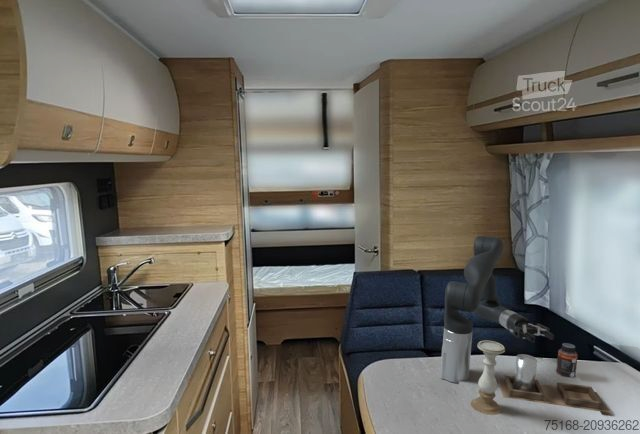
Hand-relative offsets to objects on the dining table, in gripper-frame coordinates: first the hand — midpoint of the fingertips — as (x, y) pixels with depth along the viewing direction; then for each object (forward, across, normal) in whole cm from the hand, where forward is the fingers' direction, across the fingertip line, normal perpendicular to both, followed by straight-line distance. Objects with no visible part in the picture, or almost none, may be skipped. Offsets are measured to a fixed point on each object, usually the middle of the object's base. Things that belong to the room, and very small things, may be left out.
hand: (543, 338), depth 164 cm
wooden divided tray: (+22, -17, +8) cm, 29 cm away
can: (+18, -24, +7) cm, 30 cm away
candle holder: (+22, -41, +8) cm, 48 cm away
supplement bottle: (+11, 0, +9) cm, 14 cm away
